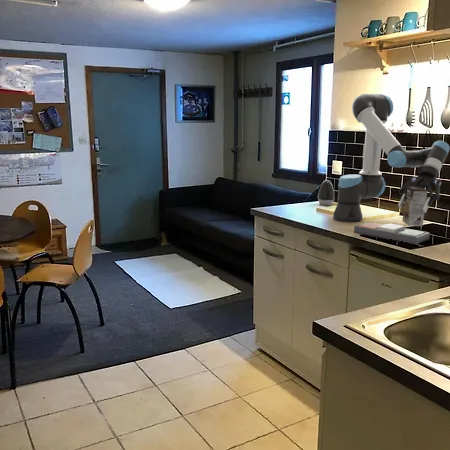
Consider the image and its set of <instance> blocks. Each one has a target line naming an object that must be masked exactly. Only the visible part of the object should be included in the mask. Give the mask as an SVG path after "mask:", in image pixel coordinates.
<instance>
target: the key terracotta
mask: <svg viewBox="0 0 450 450" xmlns="http://www.w3.org/2000/svg"><path fill="white" fill-rule="evenodd" d="M365 223H366V224H364V223H362V224H363V225H361V224H358V225H359V226H358V227H363V228H369V229H378V226H381V225H382V223H380V224H379V223H374V222H369V223H368V222H365Z"/></svg>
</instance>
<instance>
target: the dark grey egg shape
mask: <svg viewBox="0 0 450 450" xmlns="http://www.w3.org/2000/svg"><path fill="white" fill-rule="evenodd" d="M317 200H318V203H319V204H320V205H322V206H331V205H332V204H333V202H334V201H335V191H334V187H333V184H332V182H331V180H328V179H325V180H323V182H322V183H321V185H320V187H319V189H318V193H317Z"/></svg>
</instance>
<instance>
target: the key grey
mask: <svg viewBox="0 0 450 450" xmlns="http://www.w3.org/2000/svg"><path fill="white" fill-rule="evenodd" d="M405 229H406V226H405V225H401V224H394V223H385V224H381V226H378V229H377V230H380V231H386V232H392V233H396V232H399V231H402V230H405Z"/></svg>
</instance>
